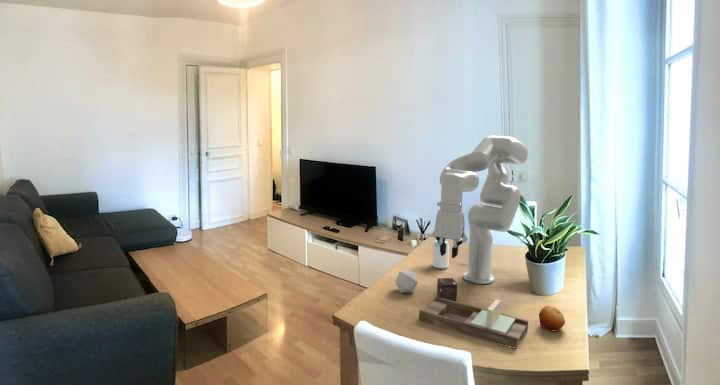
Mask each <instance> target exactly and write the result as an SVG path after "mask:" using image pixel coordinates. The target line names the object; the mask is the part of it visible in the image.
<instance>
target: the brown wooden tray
mask: <svg viewBox="0 0 720 385" xmlns="http://www.w3.org/2000/svg"><path fill="white" fill-rule="evenodd" d="M482 310H485V311H487V309H485V308H481V307H478V306H473V305H470V304H466V303H463V302H460V301H459V302H458V301H456V302H455V301H451V300H447V299H444V298H440V297H437V296H435V300H433V301H432V302H431V303H430V304H429V305H427V306H426V307H425V308H424V309H420V310H419V314H418V321H420V322H424V323H428V324H430V325H434V326H437V327H439V328H444V329H447V330H450V331H454V332H457V333H461V334H464V335H467V336H471V337H475V338H478V339H481V340H484V341H487V342H490V341H491V343H494V342H495V344H497V343H499V344H498V345H500V344H503V345H502V346H504V345H507V346H511V347H515V348H516V347H517V345H518V344H519V345H520V343H521V342H520V341H522V340H523V338H524V337H523V336H525V335H526V333H527V332H526V331H528V330H527V329H528V328H529V320H527V319H524V318H520V317H516V316H512V315H508V314H504V313H501V312H500V315H504V316H508V317H511V318H515V322H514V323H513V325H512V326H511V328H510V329H509V331H508V332H507V333H506V334H505V333H501V332H498V331H494V330H491V329H487V328H484V327H480V326H477V325H473V324H470V323H471V322H472V321H473V319H474V318H475V317H476V316H477V315H478V314H479V313H480V312H481V311H482ZM524 334H525V335H524ZM521 339H522V340H521ZM519 342H520V343H519ZM519 345H518V346H519ZM507 346H506V347H507ZM517 348H518V347H517ZM517 348H516V349H517Z"/></svg>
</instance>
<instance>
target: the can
mask: <svg viewBox="0 0 720 385" xmlns="http://www.w3.org/2000/svg"><path fill="white" fill-rule="evenodd" d="M445 243H446V254H444V255H443V256H441V252H440V244H439V242H438V241H437V240H436V239H435V240H434V243H433V245H432V246H433V248H432V250H433V251H432V266H433V267H434V268H436V269H437V270H438V269H440V270H443V269H447V268H448V267H449V265H450V264H449V261H450V244H449V241H448V239H445Z"/></svg>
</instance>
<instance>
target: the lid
mask: <svg viewBox="0 0 720 385" xmlns="http://www.w3.org/2000/svg"><path fill="white" fill-rule="evenodd" d="M501 305H502V300H501V299H496V298H495V299H494V301H493V302H492V303H491V305H490V306H489V307H488V308H487V309H486V310H487V311H485V310H482V311H481V312H480V313H479V314H478V315H477V316H476V317H475V318H474V319H473V321H472V322H471V323H470V324H473V325H477V326H480V327H484V328H487V329H491V330H494V331H498V332H501V333H505V334H506V333H507V332H508V331H509V329H510V328H511V326H512V325H513V323H514V322H515V318H511V317H508V316H504V315H500V313H501V308H502V306H501Z"/></svg>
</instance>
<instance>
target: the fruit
mask: <svg viewBox="0 0 720 385" xmlns="http://www.w3.org/2000/svg"><path fill="white" fill-rule="evenodd" d="M538 318H539V319H538V320H539V324H540V325H539V326H541V327H542V328H545V329H546V330H548V329H549V330H548V331H552V330H557V331H559V330H561V329H562V327H564V325H565V323H566V319H565V316H564V314H563V312H561V310H559V309H558V308H557V307H554V306H551V305H546V306H544V307H542V308H541V310H540V312H539V314H538Z"/></svg>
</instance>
